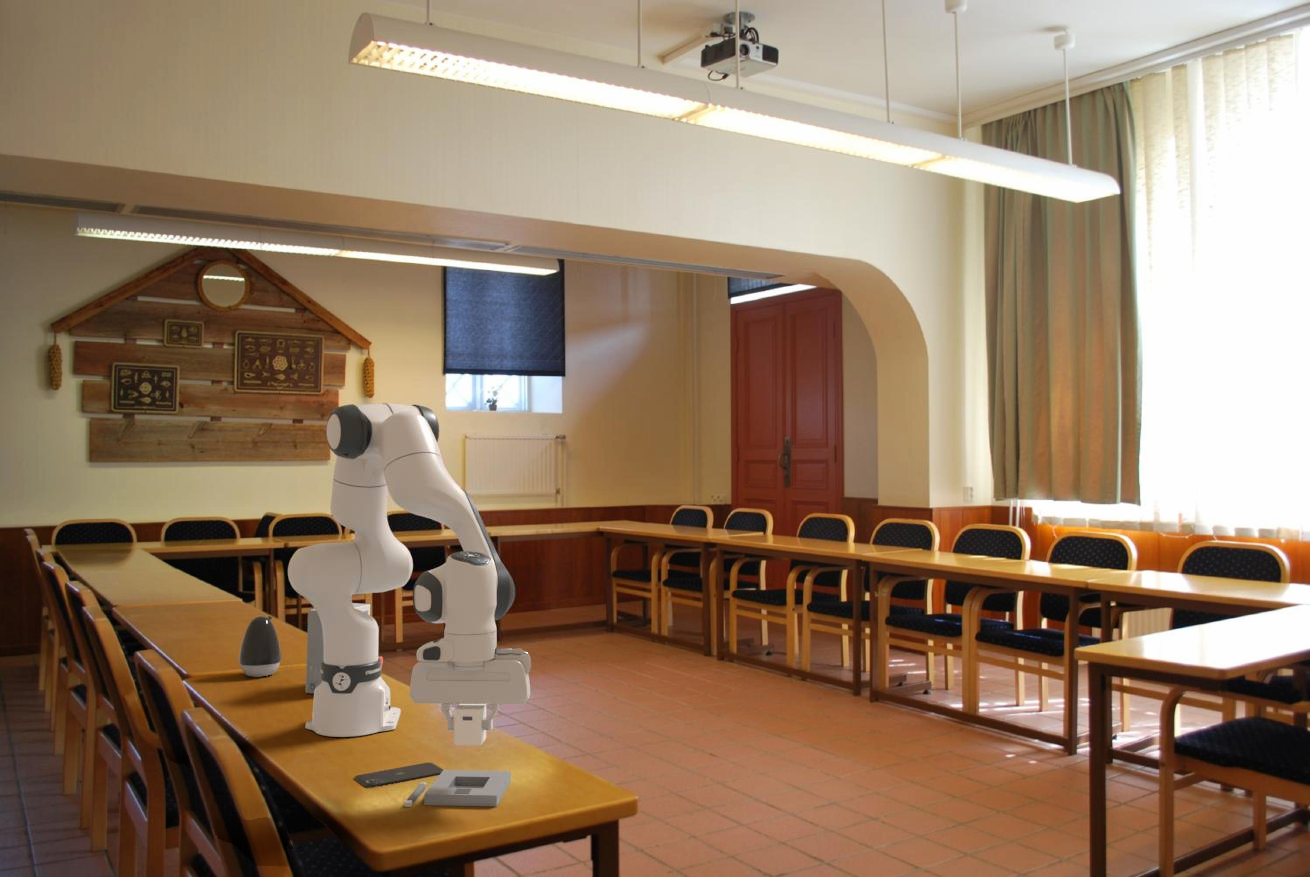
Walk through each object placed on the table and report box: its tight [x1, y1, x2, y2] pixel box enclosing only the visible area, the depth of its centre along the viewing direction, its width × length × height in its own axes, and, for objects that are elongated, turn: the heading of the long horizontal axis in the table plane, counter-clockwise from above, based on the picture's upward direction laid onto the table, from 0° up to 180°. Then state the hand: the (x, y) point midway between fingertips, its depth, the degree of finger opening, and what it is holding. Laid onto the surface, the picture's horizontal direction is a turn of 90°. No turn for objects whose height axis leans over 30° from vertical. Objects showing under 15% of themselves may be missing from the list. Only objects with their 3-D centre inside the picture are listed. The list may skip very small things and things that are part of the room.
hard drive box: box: [305, 602, 371, 695], centre depth 254 cm, size 16×8×20 cm, turn 161°
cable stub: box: [403, 782, 428, 808], centre depth 176 cm, size 10×1×1 cm, turn 178°
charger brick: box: [453, 704, 487, 746], centre depth 178 cm, size 5×4×6 cm
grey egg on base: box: [238, 615, 282, 678], centre depth 268 cm, size 10×10×15 cm
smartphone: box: [353, 762, 444, 788], centre depth 187 cm, size 7×1×15 cm
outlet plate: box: [423, 769, 512, 807], centre depth 178 cm, size 13×12×2 cm
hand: (470, 729), depth 178 cm, fingers closed on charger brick, 4 cm apart
